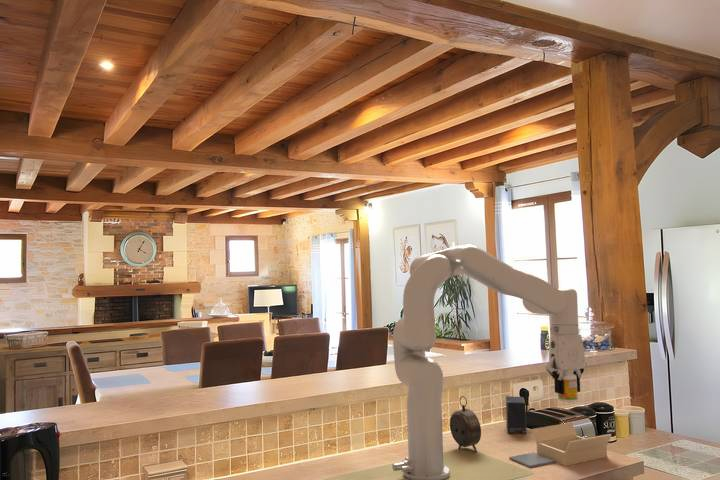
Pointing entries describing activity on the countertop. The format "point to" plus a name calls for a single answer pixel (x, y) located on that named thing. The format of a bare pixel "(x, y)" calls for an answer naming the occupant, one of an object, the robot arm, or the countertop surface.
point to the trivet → (532, 460)
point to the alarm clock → (465, 427)
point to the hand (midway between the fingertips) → (567, 391)
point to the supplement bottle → (569, 387)
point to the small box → (515, 415)
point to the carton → (569, 444)
